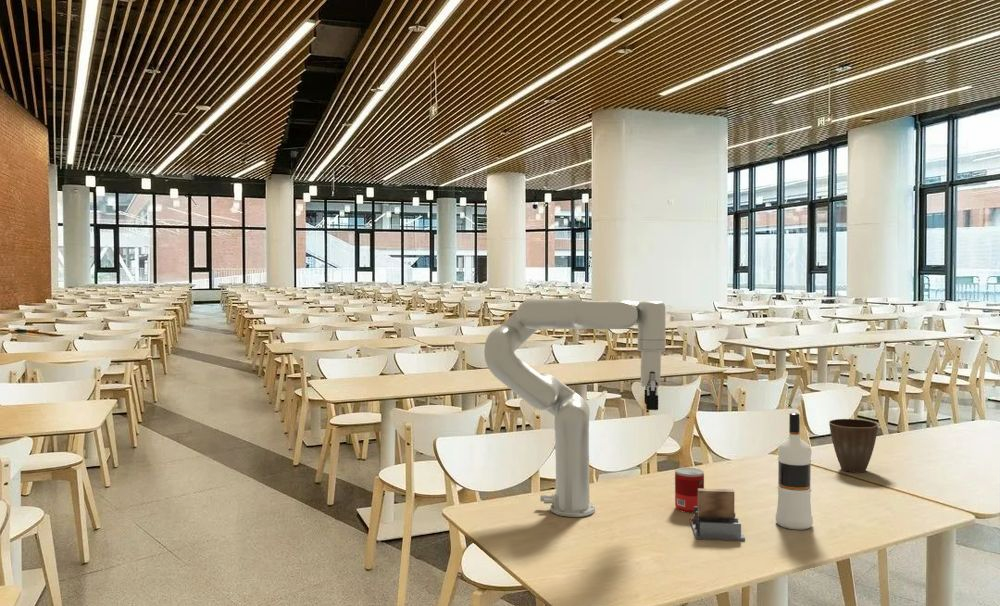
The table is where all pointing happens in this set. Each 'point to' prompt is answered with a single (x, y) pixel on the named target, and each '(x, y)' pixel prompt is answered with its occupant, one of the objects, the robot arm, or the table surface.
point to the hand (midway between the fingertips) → (651, 406)
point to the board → (716, 502)
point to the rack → (716, 527)
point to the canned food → (687, 488)
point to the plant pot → (853, 442)
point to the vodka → (794, 480)
